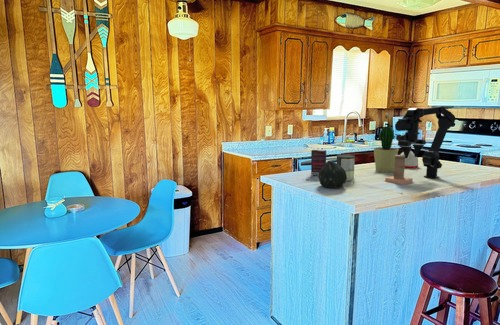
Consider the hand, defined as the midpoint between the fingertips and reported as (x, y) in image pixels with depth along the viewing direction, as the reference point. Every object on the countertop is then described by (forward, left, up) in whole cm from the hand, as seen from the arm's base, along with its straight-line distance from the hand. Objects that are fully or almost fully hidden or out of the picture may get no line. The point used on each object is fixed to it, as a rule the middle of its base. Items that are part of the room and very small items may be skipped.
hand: (410, 157), depth 199 cm
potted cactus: (-13, -26, -13) cm, 32 cm away
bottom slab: (+15, +3, -14) cm, 21 cm away
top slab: (+15, +3, -12) cm, 19 cm away
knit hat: (-38, -26, -13) cm, 48 cm away
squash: (+50, -13, -13) cm, 53 cm away
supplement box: (+34, -40, -13) cm, 54 cm away
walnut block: (+15, +3, -10) cm, 18 cm away
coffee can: (+30, -22, -13) cm, 39 cm away
